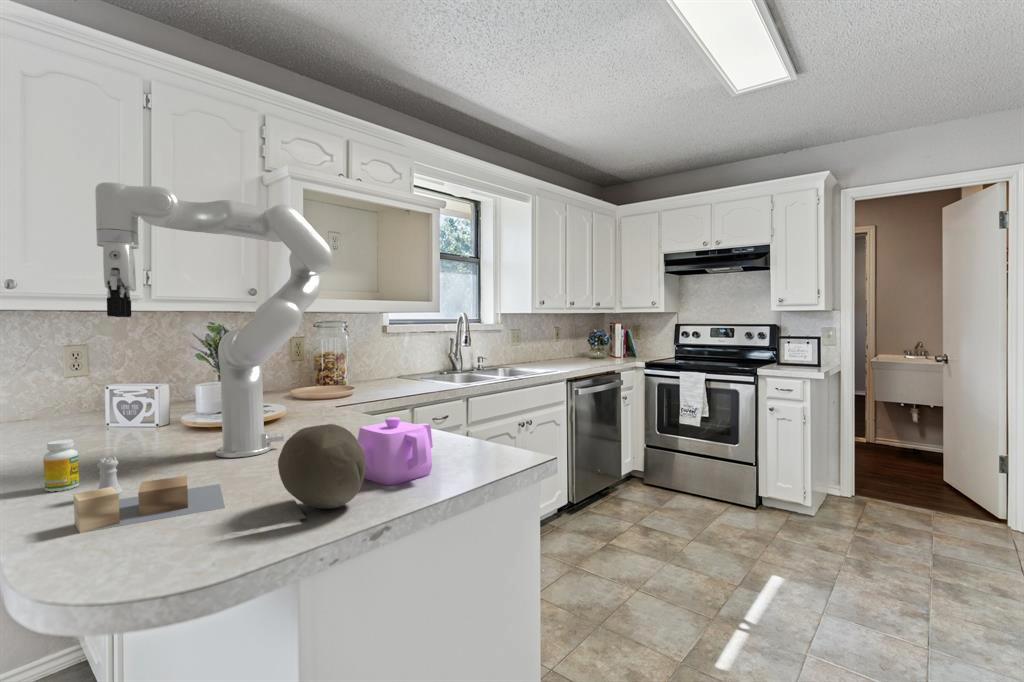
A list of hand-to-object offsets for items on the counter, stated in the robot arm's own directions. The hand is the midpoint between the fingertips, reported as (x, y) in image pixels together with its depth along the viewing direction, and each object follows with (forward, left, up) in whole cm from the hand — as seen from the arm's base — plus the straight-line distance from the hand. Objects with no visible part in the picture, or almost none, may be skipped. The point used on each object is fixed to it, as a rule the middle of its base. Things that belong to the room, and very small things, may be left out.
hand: (119, 316), depth 117 cm
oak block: (+1, +40, -34) cm, 53 cm away
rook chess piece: (+1, +24, -35) cm, 43 cm away
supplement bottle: (+10, +9, -35) cm, 38 cm away
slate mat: (-7, +35, -35) cm, 50 cm away
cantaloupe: (-32, +51, -35) cm, 70 cm away
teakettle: (-49, +37, -35) cm, 71 cm away
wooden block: (-8, +36, -34) cm, 50 cm away
